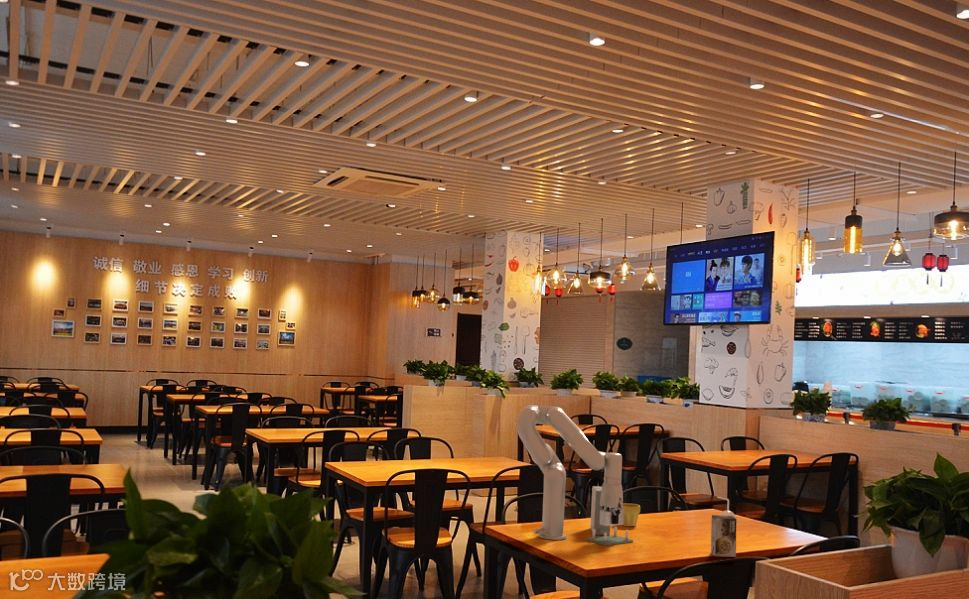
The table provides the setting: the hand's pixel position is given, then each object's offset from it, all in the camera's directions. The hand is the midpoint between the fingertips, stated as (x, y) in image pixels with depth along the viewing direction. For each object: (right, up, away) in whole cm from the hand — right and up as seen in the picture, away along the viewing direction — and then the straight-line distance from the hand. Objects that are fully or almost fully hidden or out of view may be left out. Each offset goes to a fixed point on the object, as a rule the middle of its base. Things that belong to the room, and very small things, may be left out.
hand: (611, 522), depth 377 cm
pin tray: (-1, -8, -1) cm, 8 cm away
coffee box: (+45, -10, -16) cm, 49 cm away
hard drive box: (-2, -10, +19) cm, 21 cm away
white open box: (0, -1, 0) cm, 1 cm away
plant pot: (+14, -12, +39) cm, 43 cm away
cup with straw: (+55, -12, +13) cm, 57 cm away
